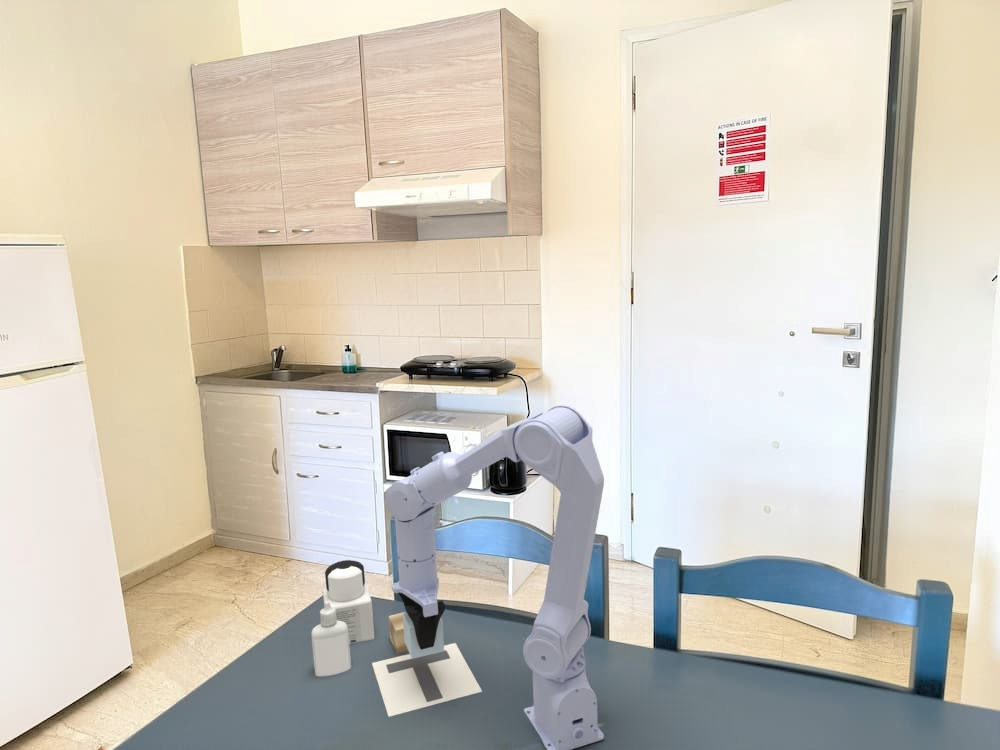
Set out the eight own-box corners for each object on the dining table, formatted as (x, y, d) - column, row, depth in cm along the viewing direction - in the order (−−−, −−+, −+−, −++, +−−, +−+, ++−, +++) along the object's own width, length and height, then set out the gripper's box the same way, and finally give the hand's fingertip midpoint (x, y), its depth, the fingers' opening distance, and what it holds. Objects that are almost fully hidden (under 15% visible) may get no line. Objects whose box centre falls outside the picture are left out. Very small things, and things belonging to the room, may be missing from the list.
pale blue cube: (444, 651, 101) (442, 620, 100) (411, 658, 99) (409, 627, 98) (435, 634, 105) (433, 605, 104) (404, 641, 104) (402, 611, 103)
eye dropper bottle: (344, 682, 103) (338, 610, 101) (310, 679, 104) (303, 608, 102) (355, 665, 108) (349, 596, 106) (322, 662, 109) (316, 594, 107)
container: (326, 628, 119) (320, 560, 117) (369, 619, 121) (364, 552, 119) (328, 651, 112) (322, 579, 110) (374, 642, 114) (369, 571, 112)
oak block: (427, 650, 111) (425, 623, 110) (397, 658, 109) (395, 630, 108) (418, 635, 116) (417, 609, 115) (390, 643, 114) (388, 616, 113)
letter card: (482, 695, 99) (482, 691, 99) (388, 720, 94) (388, 716, 94) (455, 646, 112) (455, 642, 112) (372, 666, 107) (371, 662, 107)
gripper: (381, 540, 105) (387, 620, 107) (400, 579, 91) (406, 669, 94) (424, 532, 107) (429, 610, 110) (449, 569, 94) (454, 658, 96)
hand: (422, 637), depth 102 cm, fingers closed on pale blue cube, 5 cm apart
